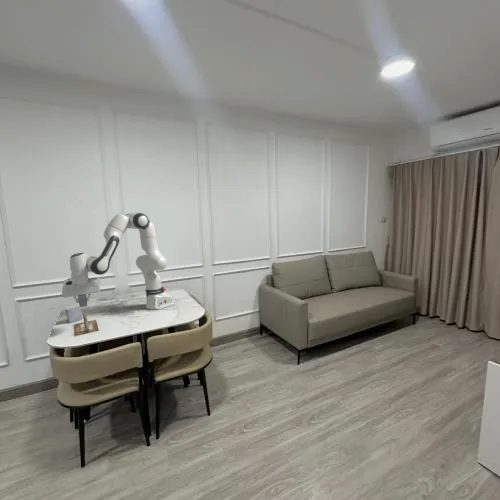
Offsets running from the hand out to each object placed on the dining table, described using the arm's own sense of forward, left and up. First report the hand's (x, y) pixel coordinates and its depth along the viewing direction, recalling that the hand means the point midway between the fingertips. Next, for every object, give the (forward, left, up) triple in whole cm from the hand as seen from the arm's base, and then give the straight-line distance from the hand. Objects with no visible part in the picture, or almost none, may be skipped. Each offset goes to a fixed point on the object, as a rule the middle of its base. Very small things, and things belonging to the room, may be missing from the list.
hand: (82, 301), depth 174 cm
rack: (0, -1, -18) cm, 18 cm away
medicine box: (+6, -20, -18) cm, 28 cm away
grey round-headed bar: (0, -1, -2) cm, 2 cm away
